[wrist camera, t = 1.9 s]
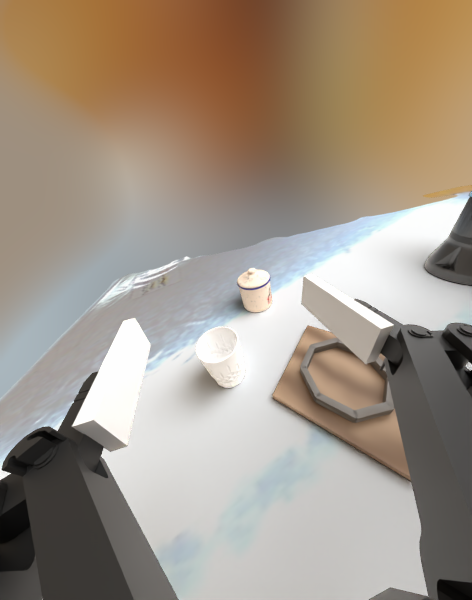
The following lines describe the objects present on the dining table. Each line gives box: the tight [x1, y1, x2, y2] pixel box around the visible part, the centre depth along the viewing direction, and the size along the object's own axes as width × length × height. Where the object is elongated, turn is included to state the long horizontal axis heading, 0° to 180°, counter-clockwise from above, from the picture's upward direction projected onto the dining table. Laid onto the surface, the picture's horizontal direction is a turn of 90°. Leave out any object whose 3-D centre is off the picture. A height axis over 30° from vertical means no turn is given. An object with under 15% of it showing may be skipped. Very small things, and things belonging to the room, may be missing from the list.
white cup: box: [196, 327, 246, 388], centre depth 34 cm, size 8×8×10 cm
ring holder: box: [273, 326, 411, 481], centre depth 30 cm, size 18×18×3 cm
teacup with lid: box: [237, 268, 272, 312], centre depth 50 cm, size 12×9×12 cm
